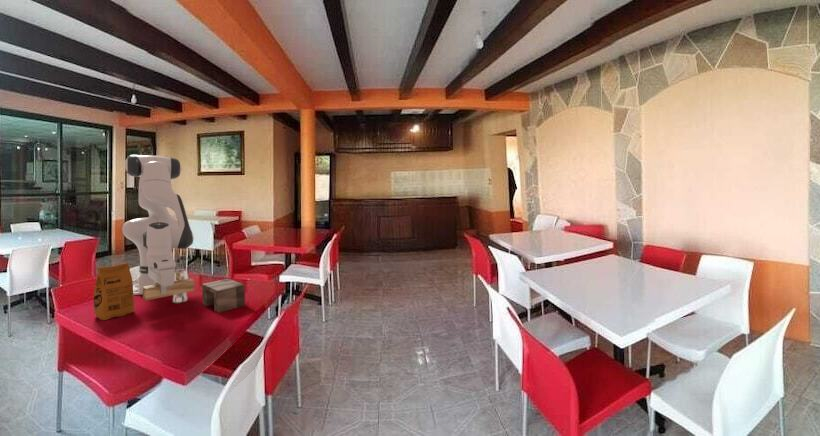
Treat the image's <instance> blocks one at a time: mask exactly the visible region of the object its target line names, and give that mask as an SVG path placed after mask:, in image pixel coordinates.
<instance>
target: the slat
mask: <svg viewBox="0 0 820 436" xmlns="http://www.w3.org/2000/svg"><path fill="white" fill-rule="evenodd" d="M142 288H143V294H142V299H143V300H144V301H151V300H155V299H160V298H165V297H170V296H173V295H176V294H180V293H185V292H186V293H189V292H194V291H195V280H194V279H192V278H190V277H188V279H183V280H177V281H174V284H173V286H169V287H167V289H166V294H161V293H160V290H161V286H160V284H155V285H150V286H144V287H142Z"/></svg>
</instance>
